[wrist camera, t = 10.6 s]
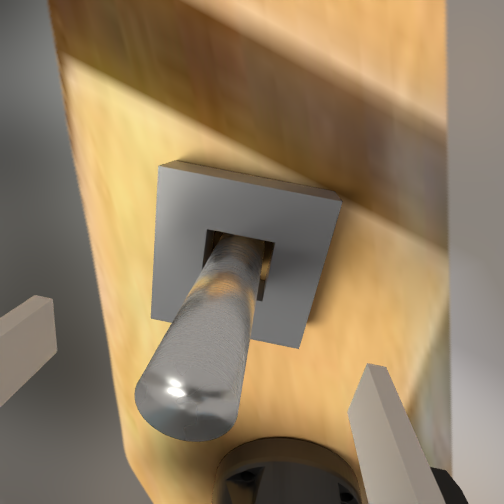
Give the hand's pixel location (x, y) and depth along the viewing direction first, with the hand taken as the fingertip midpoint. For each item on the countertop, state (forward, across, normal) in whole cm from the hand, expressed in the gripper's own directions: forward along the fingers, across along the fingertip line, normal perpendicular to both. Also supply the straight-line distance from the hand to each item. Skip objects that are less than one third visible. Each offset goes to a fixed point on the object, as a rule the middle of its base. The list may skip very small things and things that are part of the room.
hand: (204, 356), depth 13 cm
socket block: (+11, 0, 0) cm, 11 cm away
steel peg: (+11, 0, -1) cm, 11 cm away
